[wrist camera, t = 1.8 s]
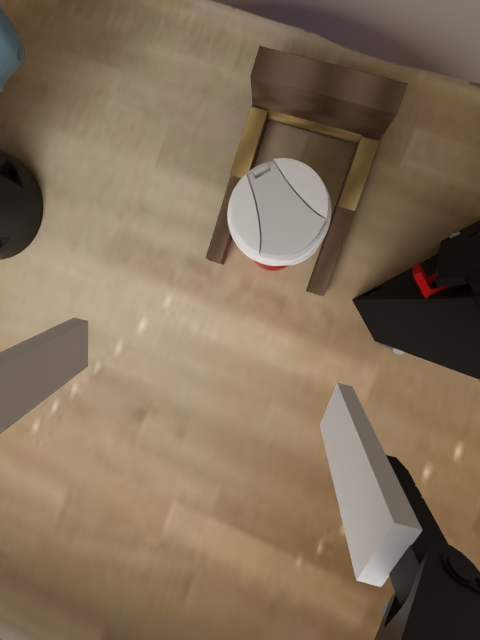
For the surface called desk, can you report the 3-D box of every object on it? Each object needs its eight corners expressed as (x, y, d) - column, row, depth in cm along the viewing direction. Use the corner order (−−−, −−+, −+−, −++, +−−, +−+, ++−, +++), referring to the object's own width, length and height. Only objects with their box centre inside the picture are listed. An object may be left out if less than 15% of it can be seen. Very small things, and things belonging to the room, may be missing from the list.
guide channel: (208, 260, 36) (197, 251, 30) (260, 91, 33) (259, 45, 27) (321, 295, 34) (332, 294, 28) (382, 123, 32) (408, 83, 26)
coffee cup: (231, 233, 35) (206, 184, 20) (288, 204, 34) (306, 128, 19) (259, 291, 35) (253, 283, 20) (316, 263, 34) (355, 233, 19)
